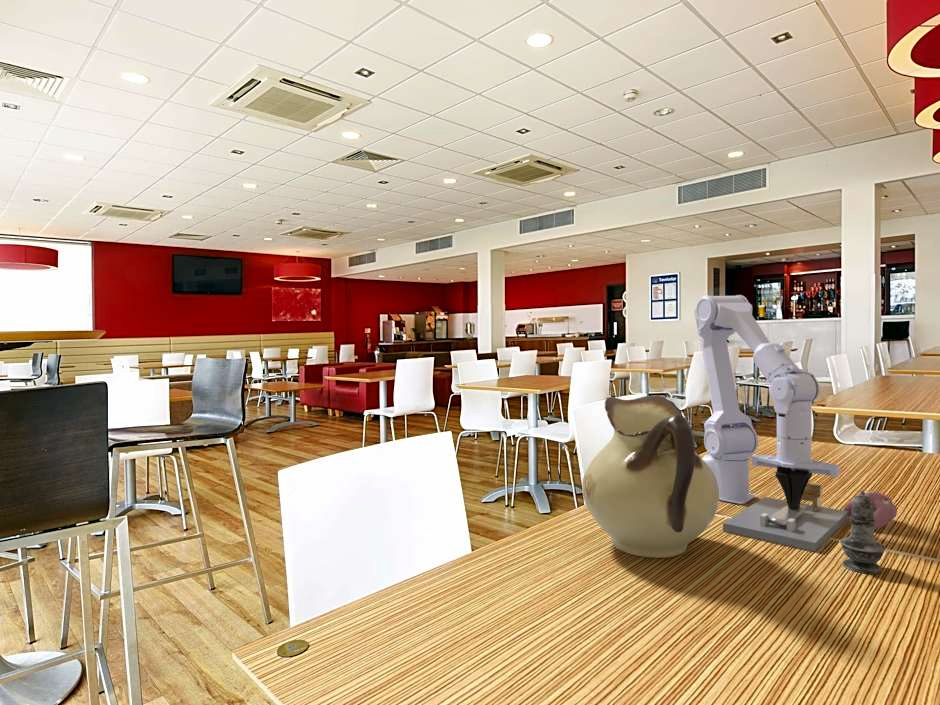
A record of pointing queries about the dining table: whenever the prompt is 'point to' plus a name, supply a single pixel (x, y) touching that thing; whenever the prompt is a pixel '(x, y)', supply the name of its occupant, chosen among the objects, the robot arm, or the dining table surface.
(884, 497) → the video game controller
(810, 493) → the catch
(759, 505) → the base board
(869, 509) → the grey stone finial
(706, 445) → the robot arm
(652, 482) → the pitcher
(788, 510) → the silver flat bar
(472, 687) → the dining table surface
